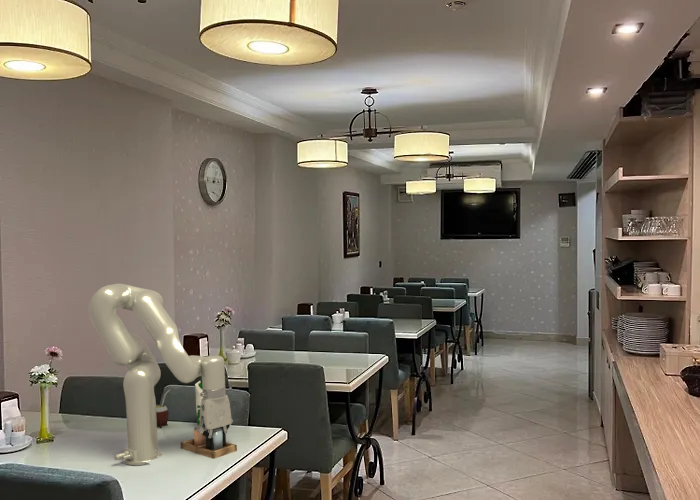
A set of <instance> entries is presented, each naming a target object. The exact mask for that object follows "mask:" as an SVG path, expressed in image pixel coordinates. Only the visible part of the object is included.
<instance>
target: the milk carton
mask: <svg viewBox="0 0 700 500" xmlns="http://www.w3.org/2000/svg"><path fill="white" fill-rule="evenodd" d="M194 387H195V388H194V389H195V411H196V412H195V413H196V426H197V425H199V424H200V406H201V399H202V398H203V396H202V397H201V396H200V393H202V392H203V391H202V390H203V387H202V376H200V380H199V381H198V382H196V383H195V384H194Z"/></svg>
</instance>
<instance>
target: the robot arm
mask: <svg viewBox="0 0 700 500" xmlns="http://www.w3.org/2000/svg"><path fill="white" fill-rule="evenodd" d="M163 298H164V297H162V295H161V294H160V293H159V292H157V291H156V290H153V289H148V288H142V287H138V286H134V285H129V284H126V283H125V284H124V283H114V284H107V285H105V286H102V287H100V288H99V289H98V290H97V291H95V293H94V294H92V297H91V299H90V301H89V304H88V315H89V316H88V317H89V319H90V322H91V324H92V326H93V327H94V329H95V331H96V333H97V334H98V336H99V338H100V340H101V342H102V344H103V345H104V348H106V351H107V352H108V354H109V356H110V357H111V359H112V361H113V362H114V363H115V364H116V365H117V366H122V367H123V366H125V367H127V369H128V371H127V372H126V373H125V375H124V377H123V383H122V384H123V392H124V399H125V411H126V412H125V414H126V429H127V430H126V431H127V434H126V435H127V436H126V437H127V447H124V451H122V452H120V453H116V454H114V456H113V458H114V460H115V461H118V460H122V461H123V463H124V464H125V465H127V466H128V465H129V466H144V465H150V463H149V462H150V461H154V460H156V459H159V458H161V457H162V456H163V454H164V453H163V451H160V450H159V446H158V427H157V417H156V405H157V403H156V401H157V400H156V396H155V386H156V385H157V384H158V383H159V381H160V379H161V372H162V371H161V369H160V366H159V363H158V361H157V360H156V358H155V357H154V355H153V352H152V351H151V350H150V348H149V346H148V345H147V343H146V341H145V340H144V338H142V337H141V336H140V335H138V334H135V333H129V331H128V329H127V327H126V326H125V324H124V322H123V320H122V319H121V317H119V316H118V314H117V310H118V309H119V310H120V309H122V310H123V309H124V310H128V311H132V312H133V313H134V314H135V316H136V317H137V318H138V319H139V320H140V322H141V324H142V325H143V327H144V328H145V329H146V330H147V332H148V333H149V335H150V337H152V339H153V340H154V342H155V345H156V347H157V350H158V351H159V353H160V356H161V358H162V360H163V362H164V363H165V365H166V366H167V368H168V369H169V371H170V372H171V373H172V374H173V376H174V378H176V379H177V380H178V382H181V383H183V384H189V383H193V382H194V381H195V380H196V379H197V378H198V377H202V387H203V390H202V391H203V392H202V393H200V396H201V397H202V396H203V398H202V399H201V406H200V424H199V426H198V428H197V431H198V432H199V433H201V434H202V435H204V437H206V448H207V449H210V450H213V449H214V443H213V438H212V431H213V429H216V428H219V427H222V434H223V446H225V445H226V442H227V436H226V435H227V434H228V430H229V428H230V426H231V425H232V423H233V422H234V420H233V418H232V412H231V403H230V399H229V396H228V395H227V394H226V376H225V374H226V373H225V371H226V370H225V359H224V357H223V356H221V355H207V356H205V355H204V356H203V355H202V356H201V355H188V353H187V351H186V350H185V349H184V347H183V345H182V343H181V340H180V336H179V329H178V326H177V324H176V323H175V322H174V320H173V319H172V318H171V316H170V315H169V313H168V312H167V310H166V309H165V307H164V299H163ZM203 428H205V430H203Z"/></svg>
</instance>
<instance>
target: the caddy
mask: <svg viewBox="0 0 700 500" xmlns="http://www.w3.org/2000/svg"><path fill="white" fill-rule="evenodd" d="M237 447H238V445H237V444H234V443H231V442H228V441H226V445H225V446H223V448H222V449H219V450H216V451H211V450H210V449H207V448H206V444H204V445H201V446H194V438H192V439H187V440H185V441H181V442H180V449H182V450H185V451H188V452H191V453H195V454H197V455H201V456H204V457H205V458H206V457H207V458H210V459H217V458H220V457H224V456H227V455H229V454H232V453H235V452H237V451H238V449H237Z"/></svg>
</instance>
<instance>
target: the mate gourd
mask: <svg viewBox="0 0 700 500" xmlns="http://www.w3.org/2000/svg"><path fill="white" fill-rule="evenodd" d="M171 390H172V389H171V388H170V389H168V390H167V391H165V393H164V394H163V397H162V398H163V399H162V402H161V404H156V417H157V428H159V429H160V430H161V429H162V428H163V427H168V426H169V425H168V422H169V413H170V412H169V408H168V407H167V406H166V405H165V404H164V403H165V400H166V397H167V394H169V392H170V391H171Z"/></svg>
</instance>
